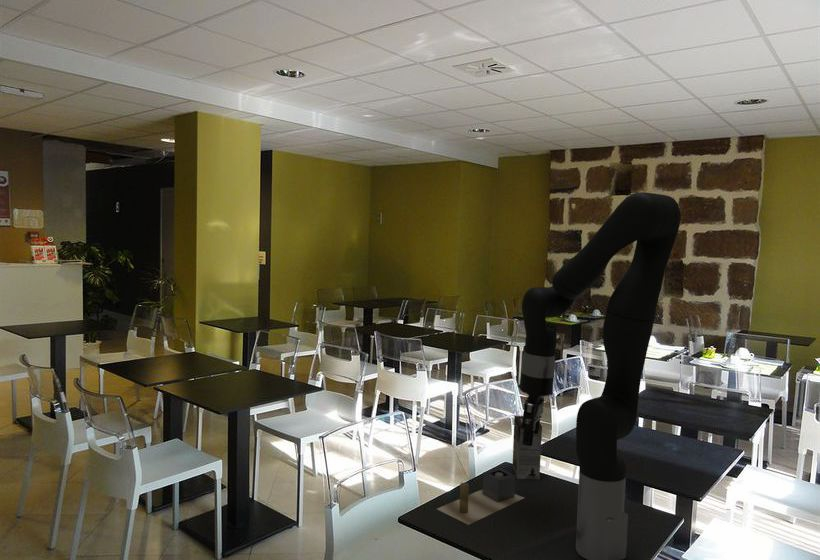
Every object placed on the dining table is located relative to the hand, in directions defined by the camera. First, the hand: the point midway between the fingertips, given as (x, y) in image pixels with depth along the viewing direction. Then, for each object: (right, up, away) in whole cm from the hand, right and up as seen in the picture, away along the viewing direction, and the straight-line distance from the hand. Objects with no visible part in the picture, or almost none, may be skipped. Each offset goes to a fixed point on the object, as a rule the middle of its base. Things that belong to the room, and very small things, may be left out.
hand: (530, 438), depth 140 cm
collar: (-6, -16, +8) cm, 19 cm away
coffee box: (+3, -17, +23) cm, 29 cm away
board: (-11, -18, +3) cm, 21 cm away
